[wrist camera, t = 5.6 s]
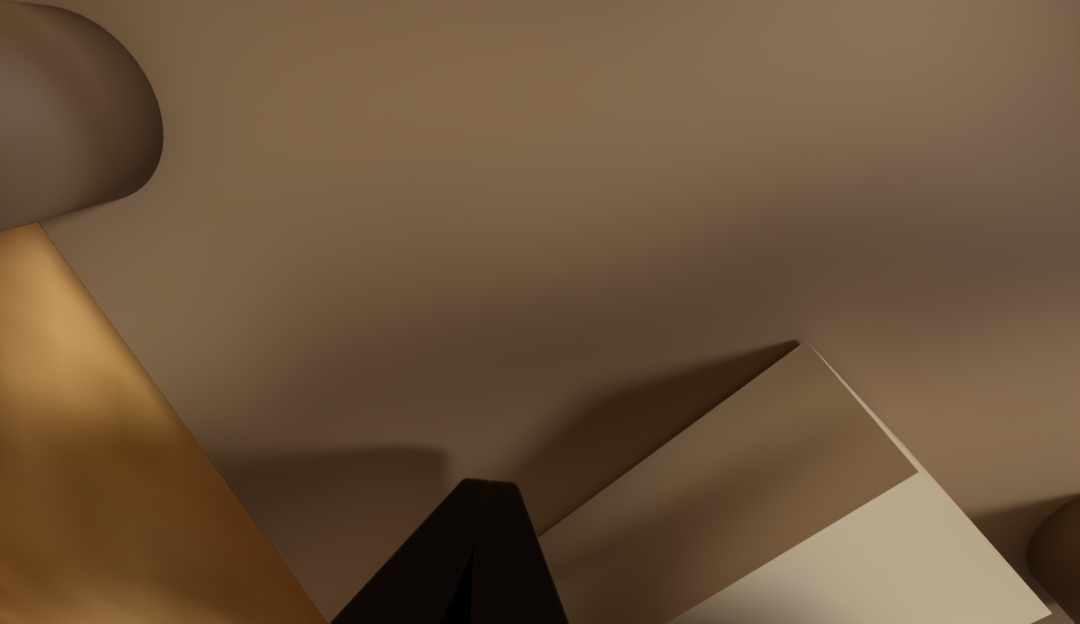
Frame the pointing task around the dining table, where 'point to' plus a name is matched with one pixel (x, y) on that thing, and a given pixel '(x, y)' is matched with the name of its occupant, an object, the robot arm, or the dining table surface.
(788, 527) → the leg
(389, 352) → the upturned stool seat
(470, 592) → the robot arm
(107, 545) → the dining table surface
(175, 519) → the dining table surface
